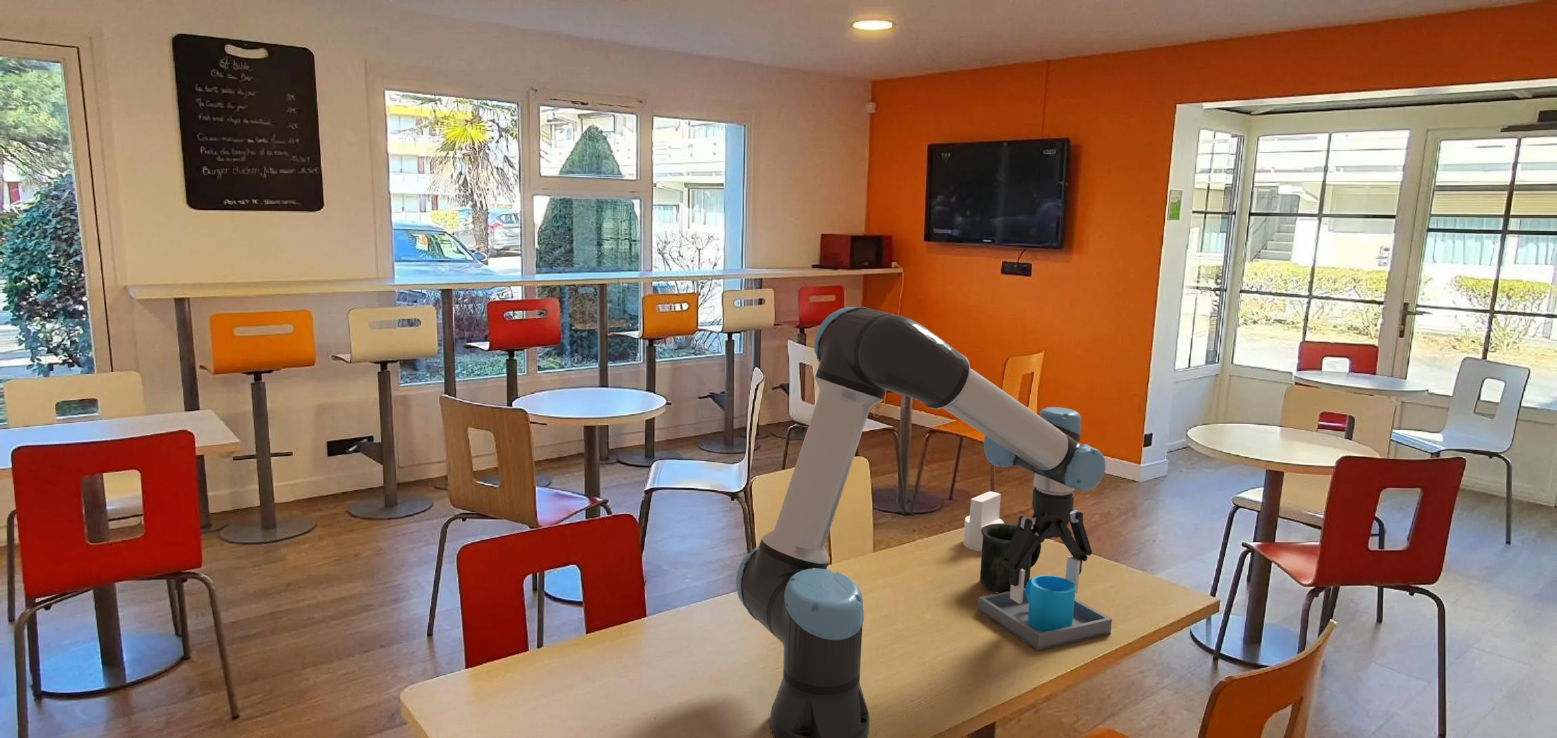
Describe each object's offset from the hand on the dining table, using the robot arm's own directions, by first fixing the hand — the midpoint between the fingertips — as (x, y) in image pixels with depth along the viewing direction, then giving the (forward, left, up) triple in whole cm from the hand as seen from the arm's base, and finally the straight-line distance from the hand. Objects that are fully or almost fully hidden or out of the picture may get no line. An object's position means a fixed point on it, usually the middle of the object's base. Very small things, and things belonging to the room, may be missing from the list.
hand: (1043, 595), depth 177 cm
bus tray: (0, 0, -6) cm, 6 cm away
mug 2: (0, 0, -5) cm, 5 cm away
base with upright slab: (+15, +38, -6) cm, 41 cm away
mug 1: (+6, +17, -6) cm, 19 cm away
